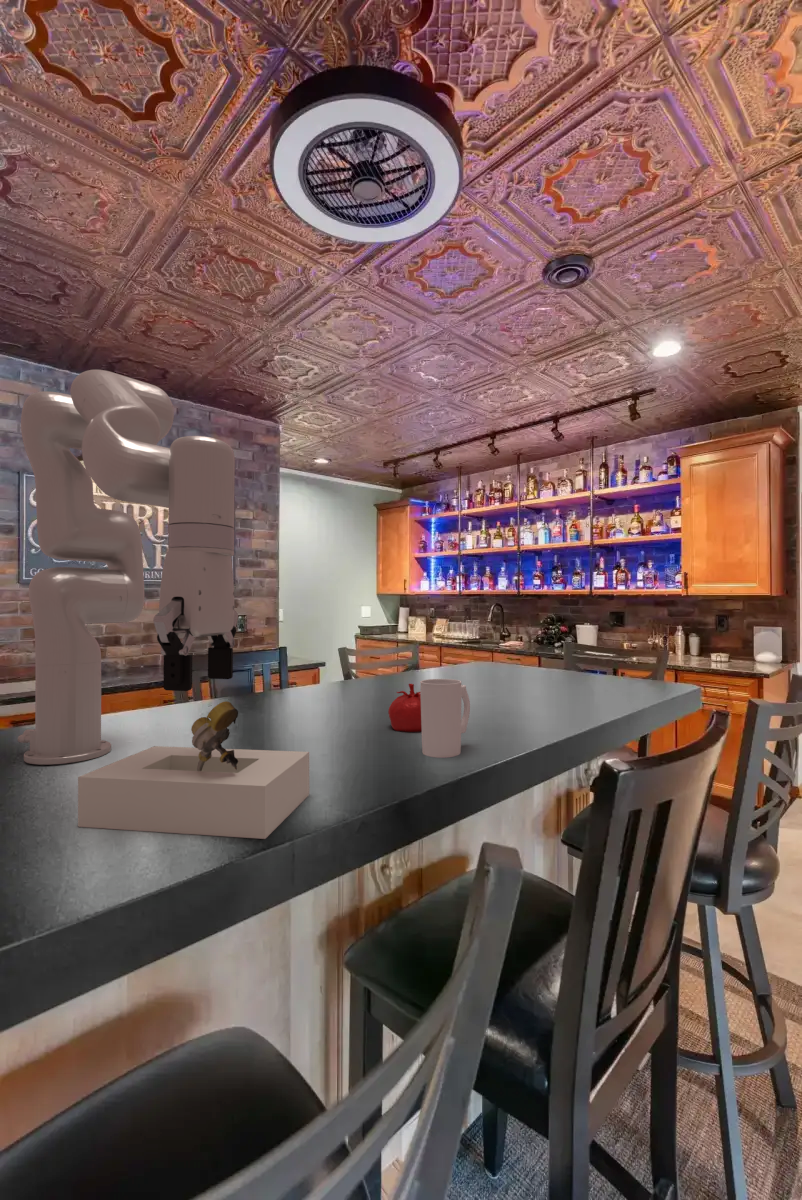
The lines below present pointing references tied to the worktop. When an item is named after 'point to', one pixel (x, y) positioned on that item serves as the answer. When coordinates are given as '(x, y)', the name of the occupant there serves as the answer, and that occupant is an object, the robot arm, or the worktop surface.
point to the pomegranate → (406, 712)
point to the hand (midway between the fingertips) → (200, 684)
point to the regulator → (214, 734)
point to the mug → (443, 716)
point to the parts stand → (195, 792)
